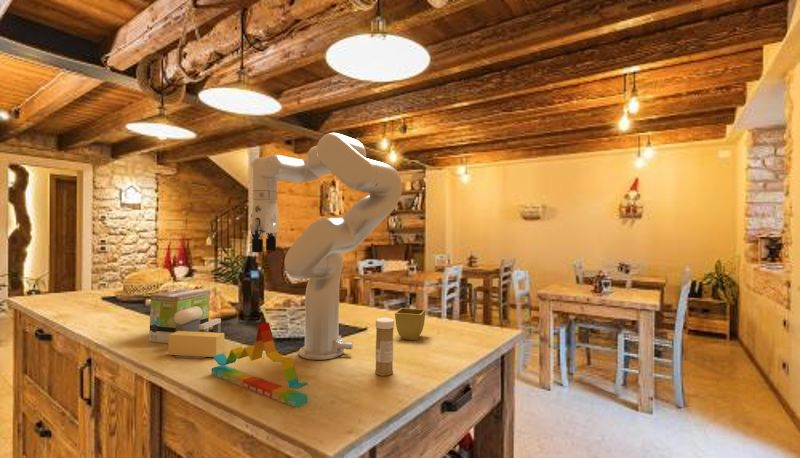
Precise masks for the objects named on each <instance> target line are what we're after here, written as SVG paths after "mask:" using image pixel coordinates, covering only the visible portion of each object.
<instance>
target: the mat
mask: <svg viewBox="0 0 800 458" xmlns="http://www.w3.org/2000/svg"><path fill="white" fill-rule="evenodd" d="M174 356H175V359H189V360H190V359H191V360H192V359H194V360H196V359H197V360H204V359H206V358H207V357H204V356H185V355H174Z"/></svg>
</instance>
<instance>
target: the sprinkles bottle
mask: <svg viewBox="0 0 800 458" xmlns="http://www.w3.org/2000/svg"><path fill="white" fill-rule="evenodd" d="M375 328H376V334H375V335H376V336H375V337H376V338H375V339H376V340H375V370H374V372H375V374H376V375H377V376H381V377H385V376H391V375H392V374H393V373H394V369H393V367H394V366H393V361H394V328H395V320H394V319H393V318H390V317H379V318H377V319H375Z"/></svg>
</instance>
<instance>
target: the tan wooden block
mask: <svg viewBox="0 0 800 458" xmlns="http://www.w3.org/2000/svg"><path fill="white" fill-rule="evenodd" d="M210 332H211V331H208V332H188V331H177V332H174V333H172V334H169V342H168V343H167V345H168V347H167V348H168V351H167V353H168V355H171V356H173V355H174V356H177V355H185V356H204V357H206V358H213V356H215V355H219V354H222V353H223V354H225V333H224V332H221V333H210Z"/></svg>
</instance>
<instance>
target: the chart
mask: <svg viewBox="0 0 800 458" xmlns="http://www.w3.org/2000/svg"><path fill="white" fill-rule="evenodd" d="M263 353H265V356H266V357H267V358H268V359H270V360H271V361H272V362H273V363H281V365H282V369H283V373H284V375H285V379H286V382H287V386H288V387H286V386H283V385H280V384H278V383H275V382H272V381H269V380H267V379H263V378H261V377H258V376H255V375H252V374H250V373H247V372H244V371H241V370H239V369H235V368H233V367H231V366H227V365H230V364H235V363H236V361H237V360H240V359H243V358H246V357H249V359H250V361H255V360H258V359H261V358H262V357H263ZM212 358H213V360H214V361H215V362H216V363H217V364H218V365H217V366H215V367H211V375H212V376H214V377H216V378H219V379H221V380H225V381H228V382H230V383H232V384H235V386H237V385H238V386H240V387H241V388H244V389H247V390H250V391H252V392H255V393H258V394H260V395H263V396H265V397H267V398H270V399H272V400H275V401H278V402H280V403H282V404H286V405H289V406H290V407H293V408H299V407H301V406H303V405H305V404H307V403H308V394H306V393H304V392H300V391H298V390H299V389H301V388H303V387H306V386H308V382H300V380H299V378H298V375H297V371H296V367H295V366H294V362H293V358H292V357H291V356H284V355H282V354H281V353H279V352H278V351H277V349H276V346H275V342H274V336H273V333H272V329H271V324H270V323H269V322H265V323H261V324H258V327H257V333H256V337H255V341H254V344H253V345H249V346H246V347H245V346H244V348H243V346H240V347H236V348H235V347H233V348H231V349H230V352H229V353H228V356H226V355H225V353H222V354H219V355H215V356H213V357H212Z"/></svg>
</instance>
